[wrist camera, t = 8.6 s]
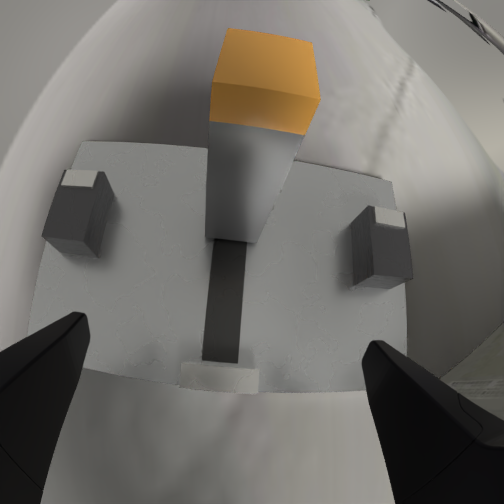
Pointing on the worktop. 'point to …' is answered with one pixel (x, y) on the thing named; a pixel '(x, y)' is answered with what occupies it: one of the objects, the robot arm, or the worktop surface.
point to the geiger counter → (482, 374)
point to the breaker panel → (223, 274)
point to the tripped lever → (255, 128)
